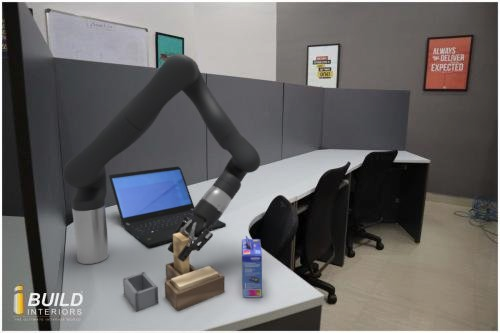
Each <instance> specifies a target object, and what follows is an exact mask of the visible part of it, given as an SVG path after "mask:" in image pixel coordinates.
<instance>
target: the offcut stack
mask: <svg viewBox="0 0 500 333" xmlns="http://www.w3.org/2000/svg"><path fill="white" fill-rule="evenodd" d="M210 266H211V265H208V266H203V267H202V268H198V269H197V270H195V271H192V272H189V273H186V274H183V275H181V276H178V277H175V278H172V279H171V285H172V286H173V287H174V288H175V289H176V290H177V291H178V292H180V291H182V290H185V289H188V288H191V287H193V286H196V285H199V284H201V283H204V282H207V281H209V280H212V279H215V278H217V277H218V272H219V271H218V272H216V271H217V270H216V269H215V268H214V269H215V270H216V271H215V270H214V269H212V268H213V267H212V266H211V267H212V268H211V267H210Z"/></svg>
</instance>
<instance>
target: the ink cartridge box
mask: <svg viewBox="0 0 500 333" xmlns="http://www.w3.org/2000/svg"><path fill="white" fill-rule="evenodd" d="M262 250H263V249H262V244H261V239H259V238H255V239H254V238H248V236H247V235H245V238H244V239H241V279H242V280H241V281H242V283H241V284H242V297H243V298H263V296H264V295H263V294H264V293H263V292H264V291H263V288H264V287H263V283H264V281H263V251H262Z"/></svg>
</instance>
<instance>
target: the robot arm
mask: <svg viewBox="0 0 500 333" xmlns="http://www.w3.org/2000/svg"><path fill="white" fill-rule="evenodd" d="M181 91H182V92H183V93H184V94H185V95H186V97H187V98H188V99H189V100H190V101H191V102H192V104H193V105H194V106H195V108H196V110H197V111H198V113H199V115H200V117H201V118H202V120H203V122H204V124H205V127H206V128H207V129H208V131H209V133H210V134H211V135H212V136H213V138H214V139H215V142H216V143H217V144H218V145H219V147H221V149H223V150H226V151H227V152H228V153H229V154H230V155H231V158H230V159H229V160H228V162H227V164H226V165H225V167H224V169H223V171H222V173H221V174H220V175H219V177H217V179H216V180H215V182H214V183H213V184H212V185H211V186H210V188H208V189H207V191H206V192H205V193H204V195H203V196H202V197H201V198H200V199H199V201H198V202H197V203H196V204H195V205H194V209H193V213H194V215H193V216H192V217H190V218H187V217H186V216H183V218H182V219H181V221H180V223H179V224H178V226H177V228H176V229H175V231H174V234H175V233H179V230H181V231H180V233H181V234H182V235H183V234H184V236H185V237H187V238H188V239H189V241H188V243H187V246H185V247H184V249H183V250H182V251H181V252H180V254H179V255H178V257H177V258H178V259H179V260H181V261H182V262H184V261H185V260H186V259H187V257H188V256H189V257H190V254H191V253H192V252H193V251H196V252H199V251H201V250H202V248H203V247H205V245H206V244H207V243H208V242H209V241H210V240H211V239H212V238H213V236H214V234H213V232H211V230H210V231H209V227H210V225H211V226H214V225H215V224H216V222H217V221H218V220H219V221H220V219H221V217H222V215H223V214H224V213H225V211H226V210H227V209H228V208H229V205H230V204H231V202H232V200H233V199H234V198H235V196H236V195H237V194H238V192H239V191H240V189H241V186H242V182H243V180H244V179H245V176H246V175H247V174H248V173H249V174H250V173H254V172H256V171H257V170H258V169H259V167H260V165H261V158H260V154H259V152H258V151H257V150H256V148H255V147H254V146H253V145H252V144H251V143H250V142H249V141H248V140H247V139H246V138H245V137H244V136H243V135H242V134H241V133H240V131H239V130H238V128H237V127H236V125H235V124H234V123H233V121H232V120H231V118H230V117H229V116H228V114H227V112H226V111H225V110H224V109H223V107H222V106H221V105H220V104H219V102H218V101H217V99H216V97H214V95H213V93H212V92H211V90H210V88H209V86H208V85H207V83H206V81H205V79H204V77H203V75H202V73H201V70H200V68H199V65H198V63H197V62H196V60H194V59H193V58H191V57H189V56H188V55H186V54H183V53H176V54H172V55H171V56H168V58H166V59H165V61H164V62H163V63H162V65H161V66H160V67H159V69H158V70H157V71H156V72H155V74H154V75H153V76H152V77H151V79H150V80H149V82H147V83H146V85H145V86H144V87H143V88H142V89H141V90H139V91H138V93H136V94H135V95H134V96H133V97H132V98H130V100H129V101H128V102H127V103H126V104H125V105H123V107H122V108H120V109H119V110H118V111H117V113H116V114H114V116H112V117H111V119H110V120H109V121H108V123H106V124H105V125H104V127H103V128H102V129H101V130H100V131H99V132H98V134H97V135H96V136H95V137H94V138H93V140H91V141H90V142H89V144H87V145H86V146H85V147H84V148H83V149H81V150H80V151H79V152H78V153H77V154H76V155H75V156H73V157H71V159H70V160H68V161H66V164H65V165H64V167H63V171H62V177H63V180H64V182H65V183H66V185H68V186H69V187H71V188H74V189H76V192H75V194H74V196H73V198H72V199H71V211H72V219H73V220H72V221H73V227H74V228H73V229H74V239H75V248H76V249H75V250H76V258H77V259H76V260H77V262H78V263H80V264H83V265H92V264H97V263H101V262H103V261H106V259H108V258H109V257H110V251H109V239H108V238H109V237H108V236H109V235H108V225H107V214H106V213H107V211H106V196H107V172H106V171H107V170H106V165H107V164H108V163H110V161H111V160H112V159H114V158H115V157H117V156H118V155H119V154H122V152H124V151H125V150H127V149H128V148H129V147H131V146H132V145H133V144H135V142H137V141H138V140H139V139H140V138H141V137H143V136H144V134H145V133H146V132H147V131H148V130H149V129H150V128H151V127H152V125H153V124H154V123H155V121H156V120H157V119H158V116H159V115H160V113H161V112H162V111H163V108H164V107H165V106H166V105H167V104H168V103H169V102H170V101H171V100H172V99H173V98H175V97H176V96H177V95H178V94H179V93H180V92H181ZM180 228H181V229H180ZM185 230H186V231H185ZM167 250H168V251H169V252H170V253H172V254H173V253H174V251H173V241H171V243H170V244H169V246H168V247H167Z"/></svg>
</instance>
